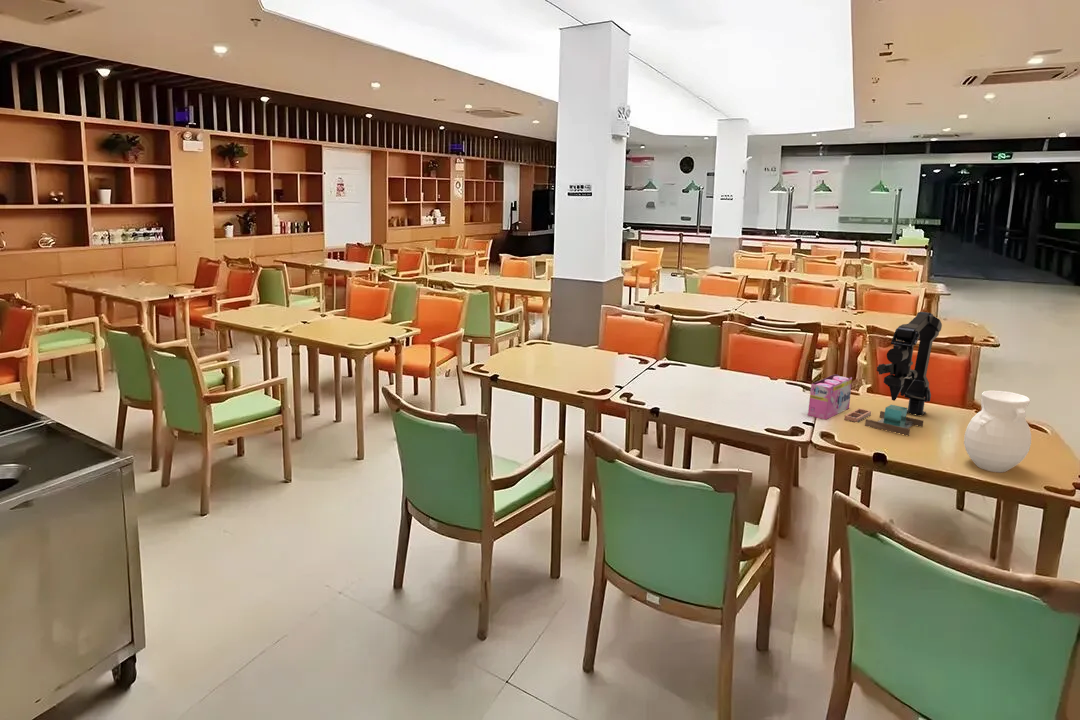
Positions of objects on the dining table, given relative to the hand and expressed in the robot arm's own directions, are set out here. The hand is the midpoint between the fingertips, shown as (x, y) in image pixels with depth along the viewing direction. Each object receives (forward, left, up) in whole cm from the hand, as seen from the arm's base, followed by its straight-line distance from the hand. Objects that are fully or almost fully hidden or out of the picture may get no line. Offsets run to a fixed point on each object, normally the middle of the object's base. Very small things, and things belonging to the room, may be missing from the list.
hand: (897, 398), depth 271 cm
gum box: (+1, -25, -12) cm, 28 cm away
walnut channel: (0, 0, -12) cm, 12 cm away
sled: (0, 0, -12) cm, 12 cm away
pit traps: (0, -14, -12) cm, 18 cm away
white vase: (+19, +38, -12) cm, 44 cm away
